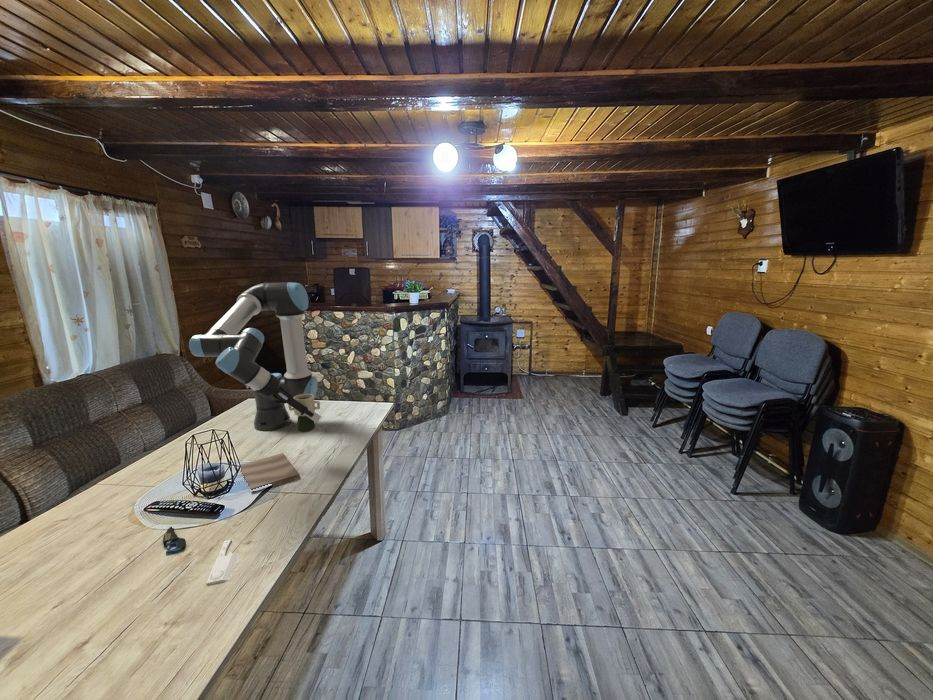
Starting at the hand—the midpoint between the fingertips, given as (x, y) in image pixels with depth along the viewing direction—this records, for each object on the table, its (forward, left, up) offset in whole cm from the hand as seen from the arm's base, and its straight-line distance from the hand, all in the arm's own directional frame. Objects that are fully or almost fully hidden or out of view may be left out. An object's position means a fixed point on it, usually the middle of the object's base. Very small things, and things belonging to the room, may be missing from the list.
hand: (314, 416), depth 148 cm
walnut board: (0, -18, -17) cm, 24 cm away
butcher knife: (+40, -36, -17) cm, 56 cm away
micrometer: (+22, -46, -17) cm, 54 cm away
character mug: (0, -4, -5) cm, 6 cm away
